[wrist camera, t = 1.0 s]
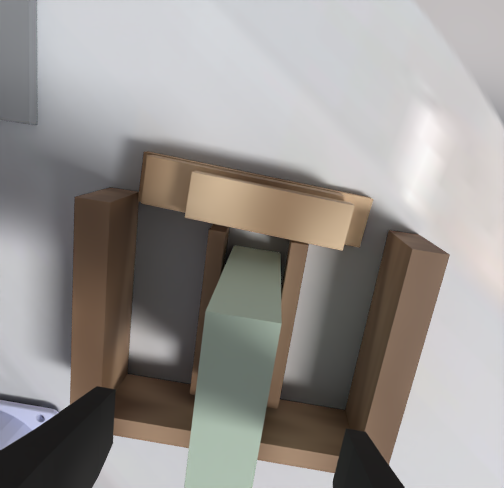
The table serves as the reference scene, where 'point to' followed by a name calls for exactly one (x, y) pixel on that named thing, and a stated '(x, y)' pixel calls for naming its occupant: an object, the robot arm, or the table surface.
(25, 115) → the mat
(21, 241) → the table surface
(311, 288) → the table surface
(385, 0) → the table surface
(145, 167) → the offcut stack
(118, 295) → the rack
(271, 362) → the panel
